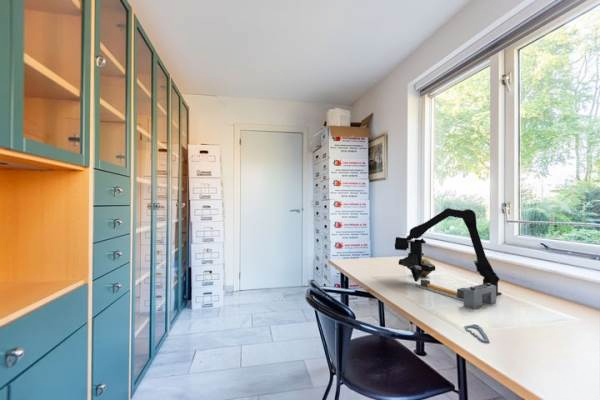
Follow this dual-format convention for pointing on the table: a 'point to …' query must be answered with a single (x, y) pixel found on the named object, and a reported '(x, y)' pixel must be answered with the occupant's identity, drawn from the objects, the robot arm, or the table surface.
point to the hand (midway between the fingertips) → (416, 281)
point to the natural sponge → (426, 271)
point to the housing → (473, 295)
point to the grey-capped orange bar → (443, 289)
